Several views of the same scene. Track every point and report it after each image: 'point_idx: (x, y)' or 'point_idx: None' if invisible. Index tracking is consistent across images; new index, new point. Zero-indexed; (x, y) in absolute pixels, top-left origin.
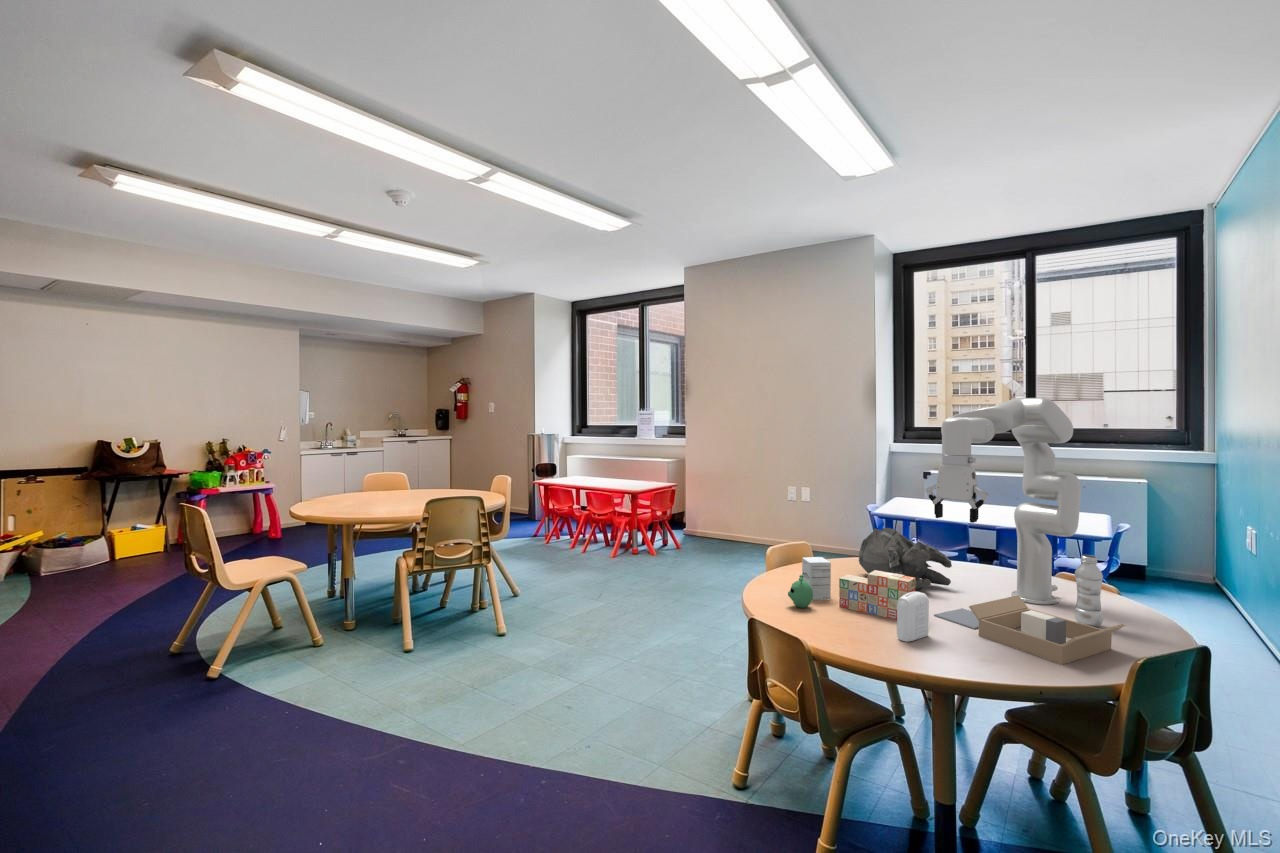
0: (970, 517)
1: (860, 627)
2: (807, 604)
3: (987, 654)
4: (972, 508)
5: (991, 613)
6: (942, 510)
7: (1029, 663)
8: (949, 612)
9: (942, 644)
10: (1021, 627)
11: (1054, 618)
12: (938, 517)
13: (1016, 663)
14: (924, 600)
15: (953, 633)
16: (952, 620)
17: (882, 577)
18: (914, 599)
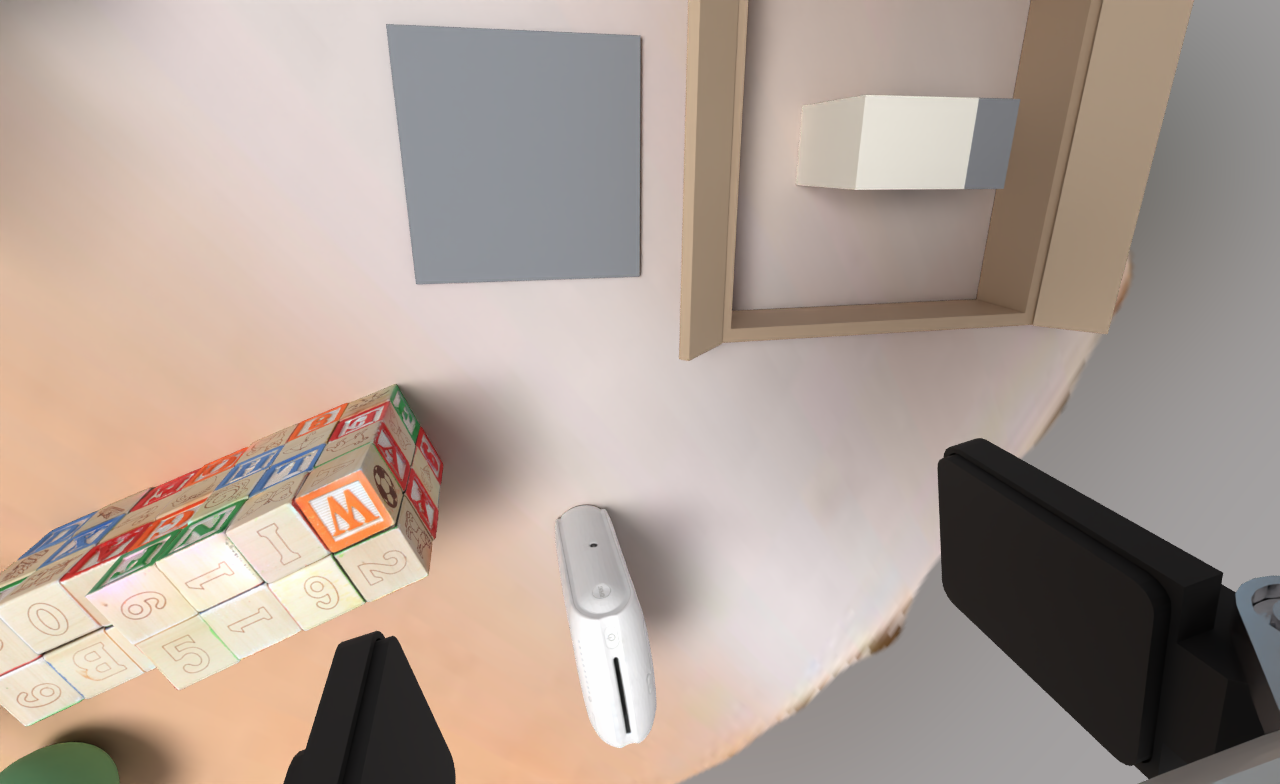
0: (1013, 648)
1: (422, 668)
2: (117, 771)
3: (813, 454)
4: (1180, 737)
5: (721, 242)
6: (374, 746)
7: (920, 396)
8: (421, 176)
9: (685, 520)
10: (820, 186)
11: (980, 127)
12: (449, 758)
13: (897, 433)
14: (647, 634)
15: (629, 396)
16: (524, 277)
17: (272, 641)
18: (654, 703)
